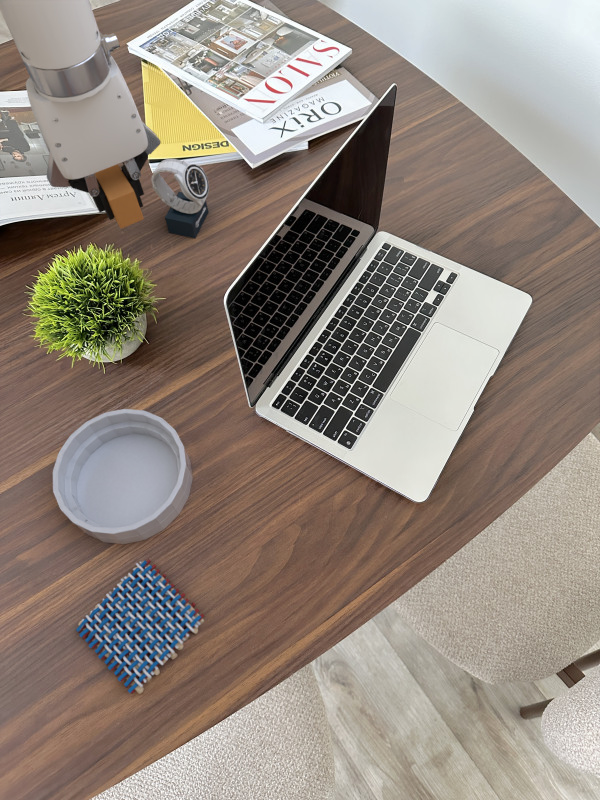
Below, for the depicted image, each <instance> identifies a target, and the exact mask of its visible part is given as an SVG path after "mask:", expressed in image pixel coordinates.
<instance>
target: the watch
mask: <svg viewBox="0 0 600 800" xmlns="http://www.w3.org/2000/svg"><path fill="white" fill-rule="evenodd" d="M160 173H171V174H174V175H173V177H174V179H175V181H176V182H177V183H178V184H179V188H180V190H181V191H178V192H177V194H176V192H175V191H173V189H172V188H171V186H169V184H168V183H167V182H166V180H165V179H164V177H163V176H161V174H160ZM150 179H151V180H150V181H151V184H152V189H153V190H154V192H155V194H156V195H157V196H158V197H159V199H160V200H161V202H163V203H164V204H165V205H166V206H167V207H169V209H168V211H167V213H166V215H165V216H164V220H165V224H166V228H167V231H168V233H169V234H173V235H178V236H182V237H187V238H191V239H196V238H197V236H198V234H199V232H200V230H201V228H202V226H203V225H204V223H205V220H206V218H207V216H208V214H209V208H208V204H207V197H208V196H209V192H210V183H209V179H208V176H207V173H206V171H204V168H203V167H202V166H200V165H198V164H196V163H191V162H189V161H186V160H185V159H183V160H181V159H177V158H166V159H164V160H161V161H160V162H159V163H158V165H157V166H156V168H155V170H154V172H153V173H152V175H151V178H150Z"/></svg>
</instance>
